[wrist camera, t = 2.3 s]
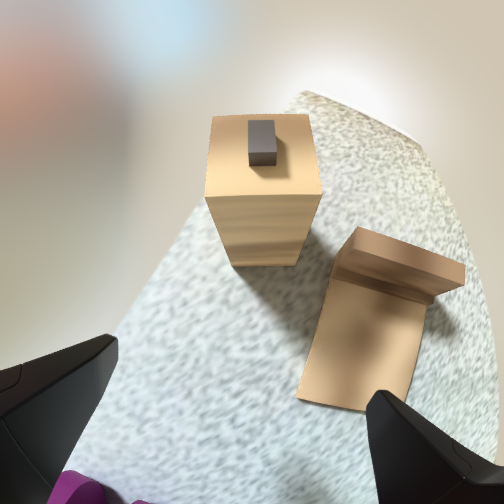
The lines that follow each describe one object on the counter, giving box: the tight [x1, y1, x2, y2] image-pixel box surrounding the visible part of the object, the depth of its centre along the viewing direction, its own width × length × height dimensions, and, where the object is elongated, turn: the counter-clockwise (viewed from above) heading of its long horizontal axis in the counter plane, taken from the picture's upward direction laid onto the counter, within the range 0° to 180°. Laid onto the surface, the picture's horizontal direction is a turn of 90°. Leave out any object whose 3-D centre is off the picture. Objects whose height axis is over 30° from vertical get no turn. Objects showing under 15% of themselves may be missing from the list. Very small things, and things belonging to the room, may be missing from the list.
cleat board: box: [295, 226, 465, 411], centre depth 17 cm, size 9×12×6 cm
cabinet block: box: [205, 114, 322, 267], centre depth 17 cm, size 5×5×12 cm
